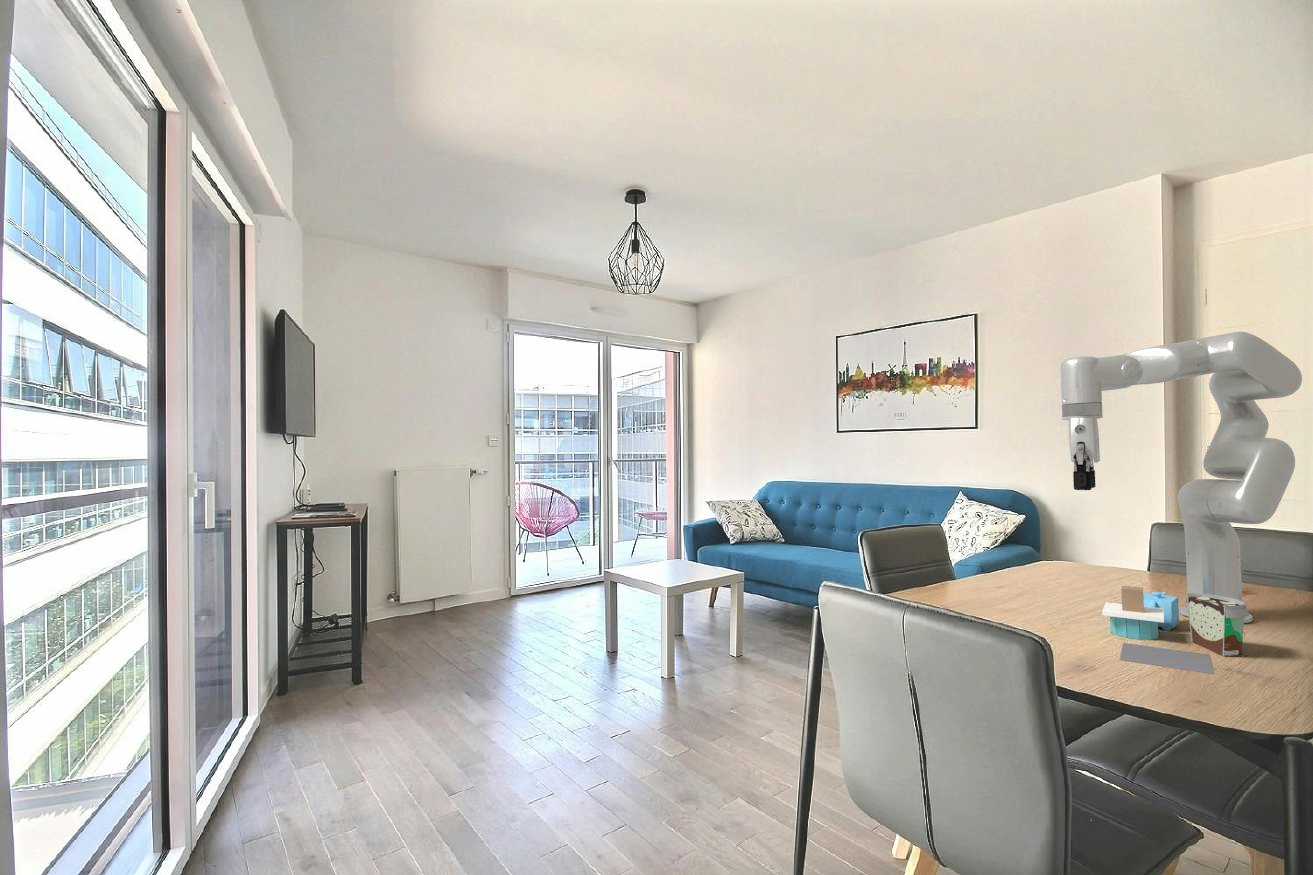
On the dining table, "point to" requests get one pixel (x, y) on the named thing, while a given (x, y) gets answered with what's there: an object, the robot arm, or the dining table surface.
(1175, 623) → the teapot
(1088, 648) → the dining table surface
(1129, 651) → the mat
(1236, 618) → the food container
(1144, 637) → the bowl
